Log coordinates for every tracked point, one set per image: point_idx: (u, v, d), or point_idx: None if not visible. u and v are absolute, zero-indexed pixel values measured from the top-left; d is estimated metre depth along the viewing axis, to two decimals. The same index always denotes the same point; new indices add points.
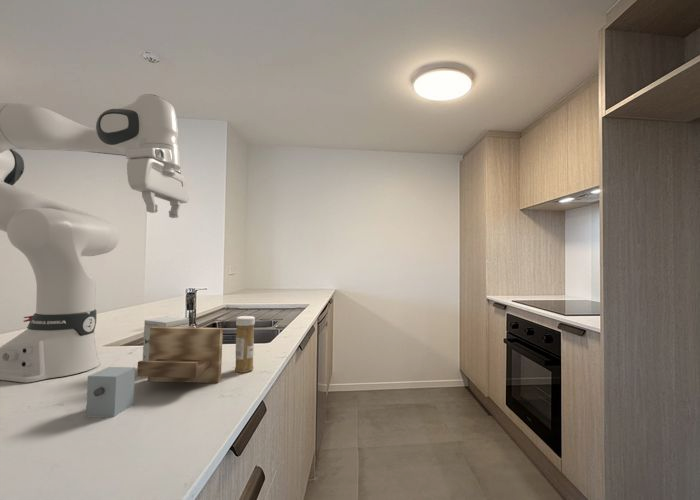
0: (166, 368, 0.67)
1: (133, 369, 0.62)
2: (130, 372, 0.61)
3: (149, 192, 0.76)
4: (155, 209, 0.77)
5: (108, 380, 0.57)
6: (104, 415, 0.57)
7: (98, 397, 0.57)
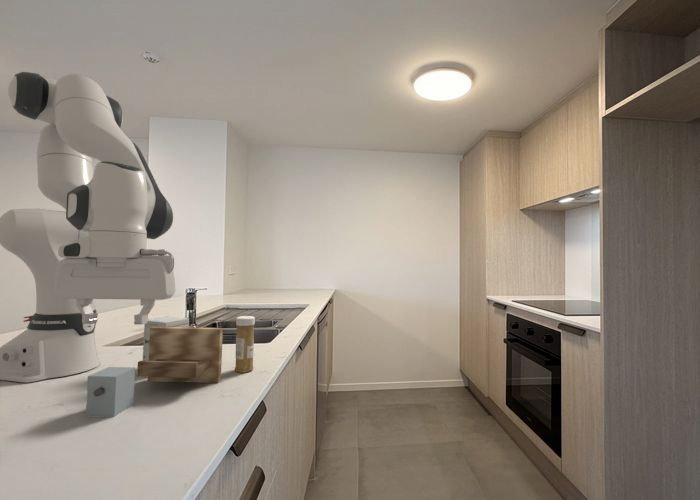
0: (166, 368, 0.67)
1: (133, 369, 0.62)
2: (130, 372, 0.61)
3: None
4: (84, 321, 0.59)
5: (108, 380, 0.57)
6: (104, 415, 0.57)
7: (98, 397, 0.57)
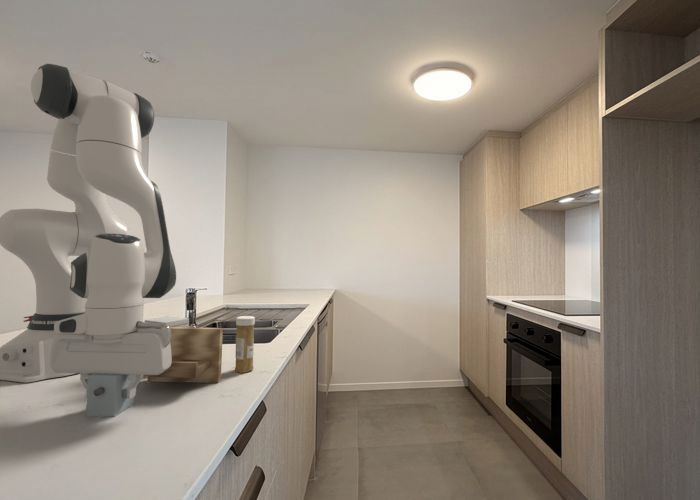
0: None
1: None
2: None
3: None
4: None
5: (108, 380, 0.57)
6: (104, 415, 0.57)
7: (98, 397, 0.57)
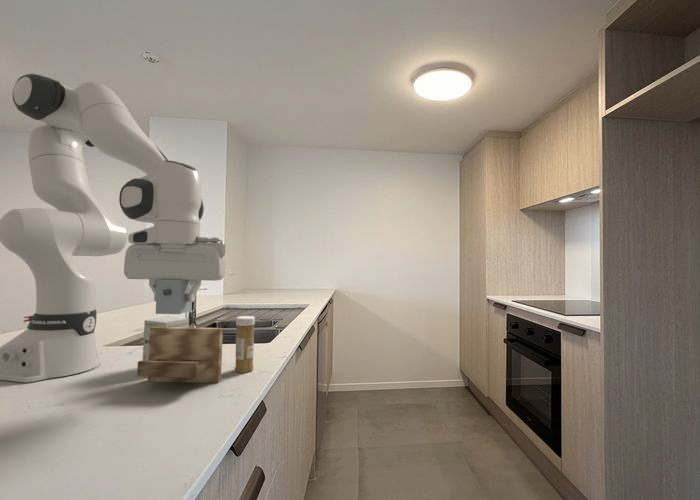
0: (166, 368, 0.67)
1: None
2: None
3: None
4: None
5: (174, 283, 0.67)
6: (171, 312, 0.67)
7: (166, 297, 0.67)
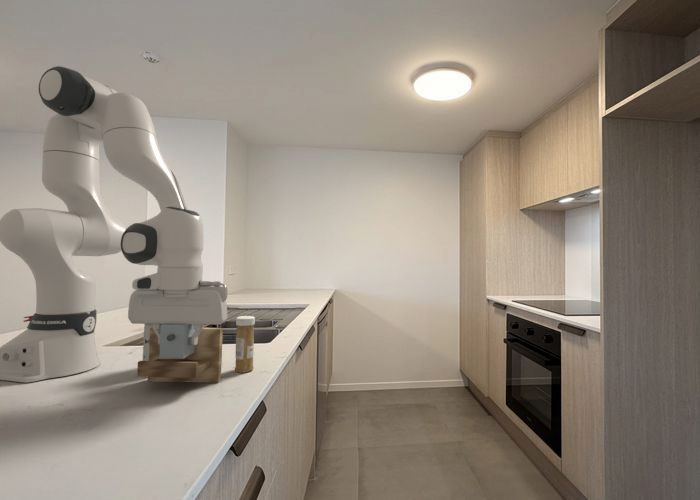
0: (166, 368, 0.67)
1: None
2: None
3: None
4: (159, 343, 0.70)
5: (177, 328, 0.69)
6: (174, 357, 0.69)
7: (169, 342, 0.69)
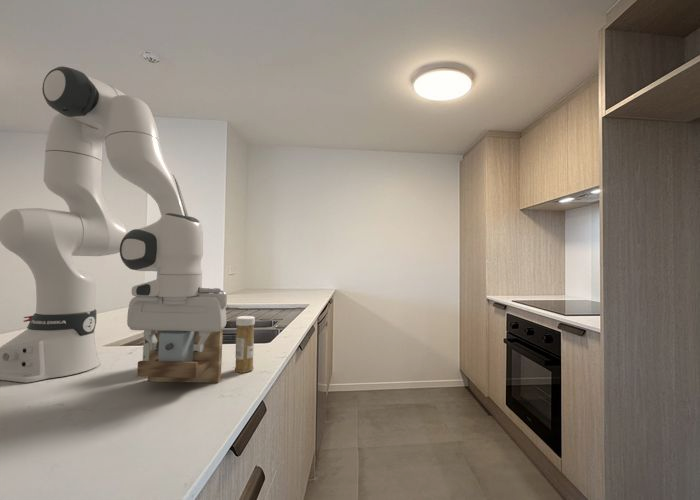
0: (166, 368, 0.67)
1: (193, 331, 0.73)
2: (191, 333, 0.73)
3: None
4: (151, 349, 0.70)
5: (176, 337, 0.69)
6: None
7: (168, 351, 0.69)
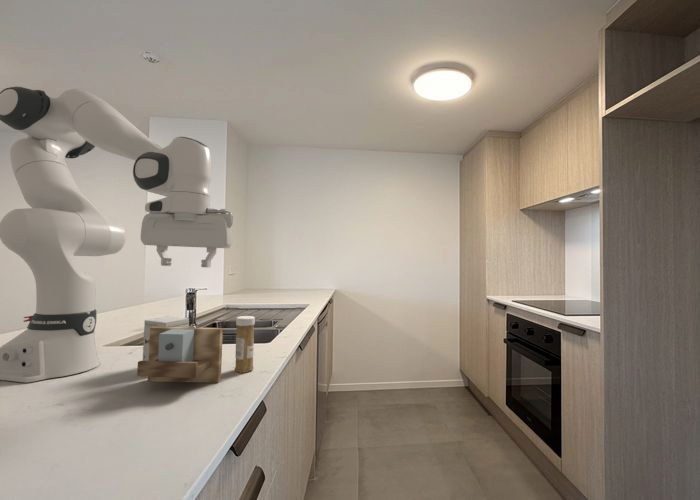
0: (166, 368, 0.67)
1: (193, 331, 0.73)
2: (191, 333, 0.73)
3: None
4: (162, 263, 0.75)
5: (176, 337, 0.69)
6: None
7: (168, 351, 0.69)
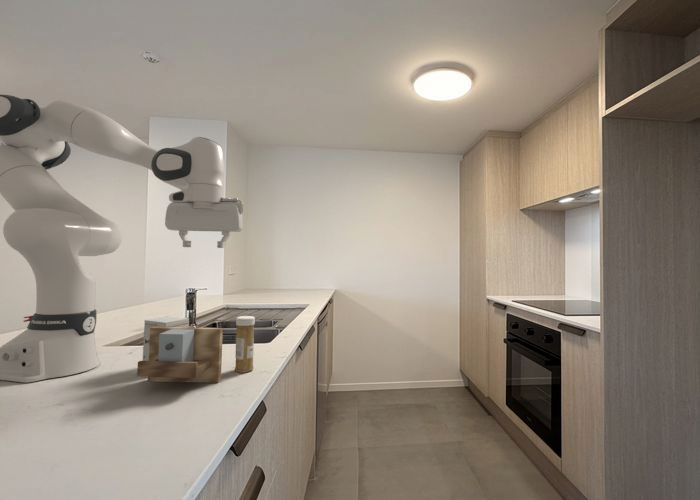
0: (166, 368, 0.67)
1: (193, 331, 0.73)
2: (191, 333, 0.73)
3: None
4: (184, 245, 0.89)
5: (176, 337, 0.69)
6: None
7: (168, 351, 0.69)
